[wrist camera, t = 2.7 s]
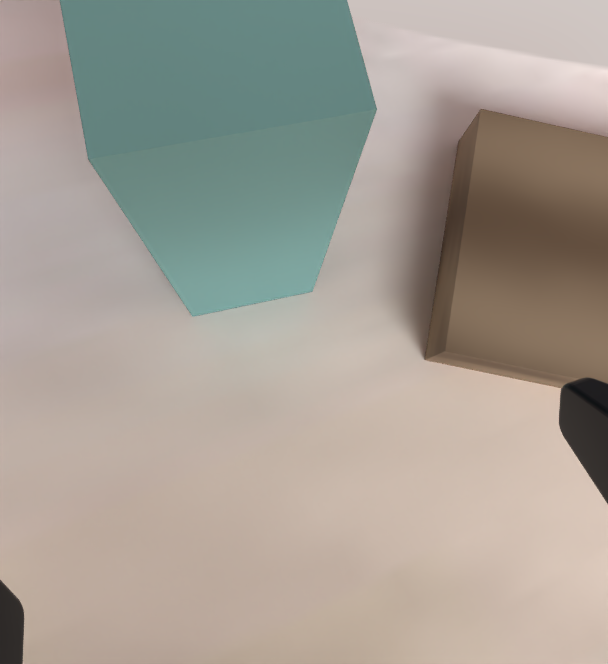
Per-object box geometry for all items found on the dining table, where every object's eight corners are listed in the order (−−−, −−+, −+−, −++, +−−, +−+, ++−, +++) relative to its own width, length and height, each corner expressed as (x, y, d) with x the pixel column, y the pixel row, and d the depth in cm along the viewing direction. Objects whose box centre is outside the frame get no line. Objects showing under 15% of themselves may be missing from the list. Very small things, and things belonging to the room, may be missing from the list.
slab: (648, 407, 23) (705, 405, 20) (421, 361, 22) (445, 351, 19) (664, 193, 25) (718, 161, 22) (454, 147, 24) (480, 108, 21)
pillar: (312, 291, 22) (376, 109, 9) (192, 316, 22) (88, 159, 9) (285, 181, 23) (312, -127, 10) (169, 202, 22) (42, -95, 10)
